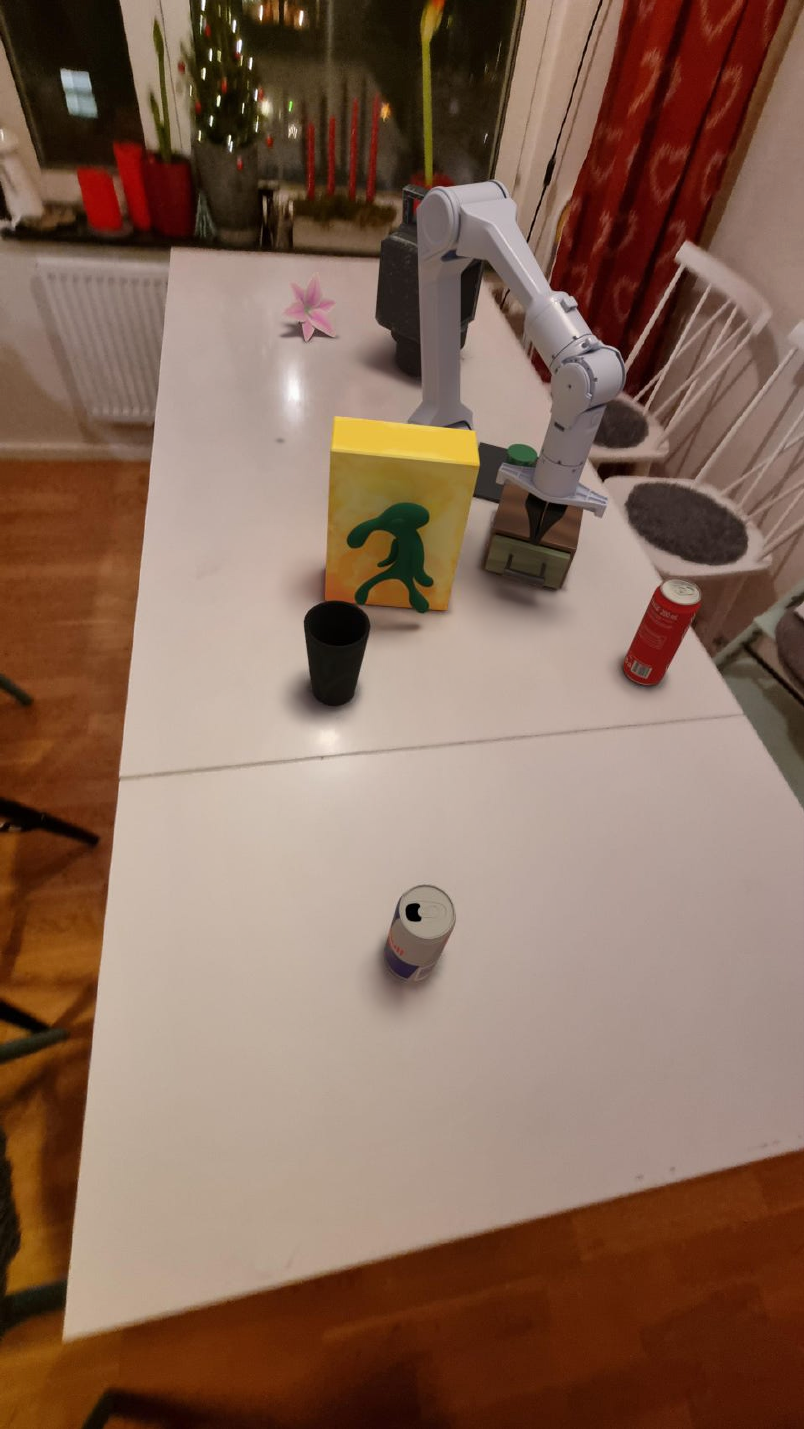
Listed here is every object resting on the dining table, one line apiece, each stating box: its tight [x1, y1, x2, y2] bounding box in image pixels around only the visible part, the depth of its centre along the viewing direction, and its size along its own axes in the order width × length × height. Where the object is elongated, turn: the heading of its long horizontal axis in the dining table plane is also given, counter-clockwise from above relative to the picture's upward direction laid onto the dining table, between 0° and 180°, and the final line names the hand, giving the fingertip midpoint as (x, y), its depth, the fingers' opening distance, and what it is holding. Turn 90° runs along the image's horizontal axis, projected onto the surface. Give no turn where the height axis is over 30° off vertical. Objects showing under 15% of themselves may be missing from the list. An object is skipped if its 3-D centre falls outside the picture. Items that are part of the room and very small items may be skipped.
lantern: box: [374, 183, 486, 380], centre depth 131 cm, size 15×18×30 cm
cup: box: [303, 600, 372, 707], centre depth 84 cm, size 8×8×12 cm
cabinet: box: [481, 483, 585, 589], centre depth 108 cm, size 15×13×8 cm
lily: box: [282, 271, 337, 342], centre depth 144 cm, size 12×12×10 cm
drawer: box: [484, 534, 570, 590], centre depth 105 cm, size 18×11×6 cm, turn 165°
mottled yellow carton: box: [324, 415, 480, 615], centre depth 90 cm, size 18×12×24 cm
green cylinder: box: [505, 443, 539, 468], centre depth 120 cm, size 5×5×5 cm
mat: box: [473, 441, 539, 504], centre depth 122 cm, size 16×16×1 cm
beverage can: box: [622, 576, 702, 686], centre depth 91 cm, size 6×6×15 cm
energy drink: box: [383, 883, 457, 983], centre depth 65 cm, size 5×5×12 cm
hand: (534, 541), depth 96 cm, fingers closed
